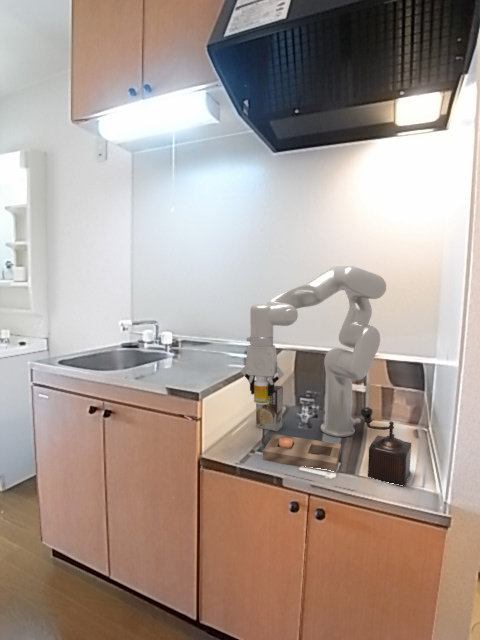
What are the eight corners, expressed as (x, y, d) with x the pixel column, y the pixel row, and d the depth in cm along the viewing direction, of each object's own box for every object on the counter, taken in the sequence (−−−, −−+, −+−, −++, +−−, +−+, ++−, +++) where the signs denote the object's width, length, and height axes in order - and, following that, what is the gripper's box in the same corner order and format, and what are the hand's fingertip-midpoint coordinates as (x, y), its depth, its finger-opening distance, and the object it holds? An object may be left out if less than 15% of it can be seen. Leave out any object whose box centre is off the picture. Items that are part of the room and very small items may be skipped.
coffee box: (283, 425, 150) (283, 386, 149) (277, 431, 145) (278, 390, 143) (261, 421, 155) (262, 383, 153) (255, 427, 149) (255, 387, 147)
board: (262, 459, 123) (262, 450, 122) (274, 442, 136) (274, 433, 136) (336, 472, 115) (336, 463, 115) (340, 452, 128) (341, 444, 128)
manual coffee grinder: (411, 471, 116) (414, 414, 114) (404, 488, 107) (408, 426, 105) (360, 457, 125) (362, 404, 123) (349, 472, 115) (351, 414, 113)
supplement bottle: (268, 405, 127) (268, 377, 125) (252, 404, 128) (252, 376, 127) (271, 400, 132) (271, 372, 131) (255, 399, 133) (255, 372, 132)
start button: (287, 445, 130) (288, 436, 130) (294, 451, 126) (295, 441, 126) (276, 448, 128) (276, 438, 128) (283, 453, 124) (283, 444, 124)
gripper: (233, 342, 127) (234, 394, 129) (283, 345, 121) (283, 400, 123) (241, 338, 134) (242, 388, 136) (289, 341, 128) (289, 393, 130)
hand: (262, 393), depth 130 cm, fingers closed on supplement bottle, 5 cm apart
